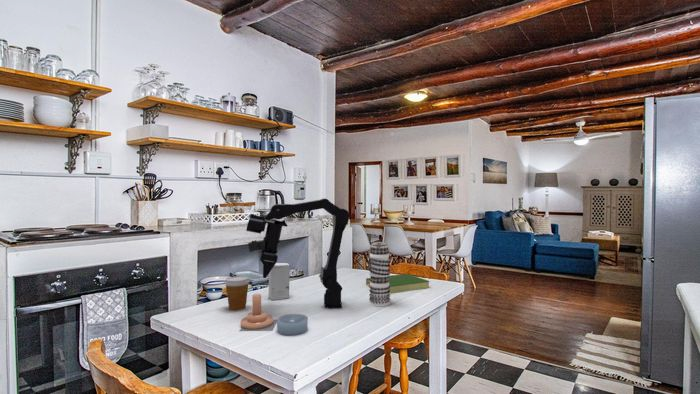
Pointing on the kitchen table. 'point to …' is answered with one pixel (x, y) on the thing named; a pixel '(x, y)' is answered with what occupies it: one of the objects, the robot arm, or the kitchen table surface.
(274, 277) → the skincare box
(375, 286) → the white patterned cylinder
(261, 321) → the lid
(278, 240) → the robot arm
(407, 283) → the hardcover book
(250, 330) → the mat
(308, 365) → the kitchen table surface
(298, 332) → the ramekin
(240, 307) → the disposable coffee cup
